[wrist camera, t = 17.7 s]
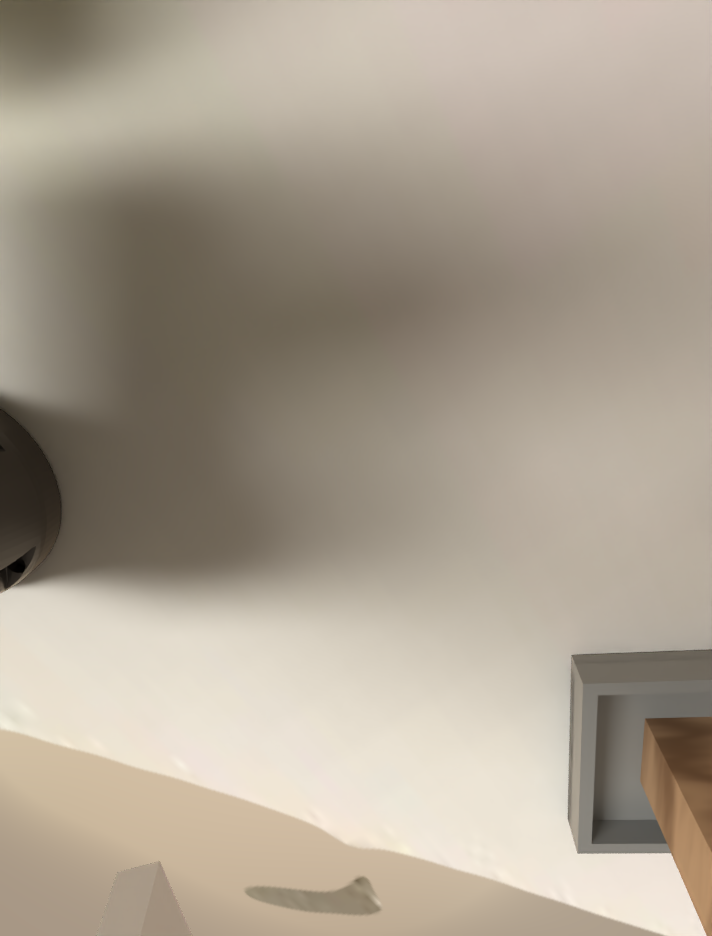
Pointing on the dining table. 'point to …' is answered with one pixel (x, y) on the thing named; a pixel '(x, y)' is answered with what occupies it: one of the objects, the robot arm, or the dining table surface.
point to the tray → (624, 741)
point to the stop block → (683, 799)
